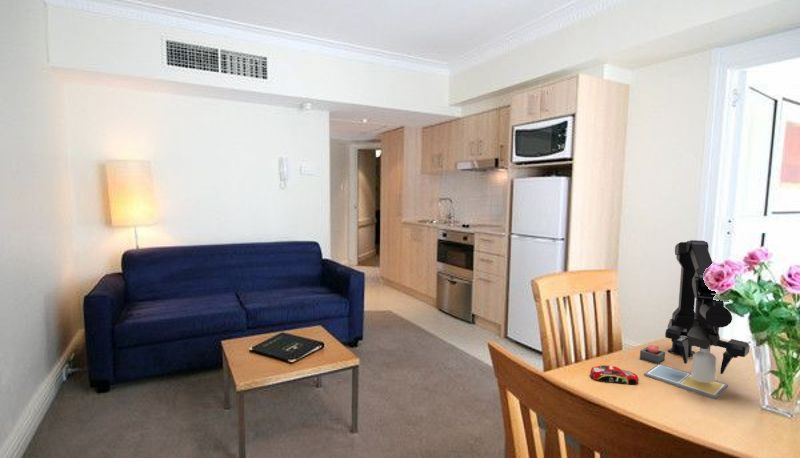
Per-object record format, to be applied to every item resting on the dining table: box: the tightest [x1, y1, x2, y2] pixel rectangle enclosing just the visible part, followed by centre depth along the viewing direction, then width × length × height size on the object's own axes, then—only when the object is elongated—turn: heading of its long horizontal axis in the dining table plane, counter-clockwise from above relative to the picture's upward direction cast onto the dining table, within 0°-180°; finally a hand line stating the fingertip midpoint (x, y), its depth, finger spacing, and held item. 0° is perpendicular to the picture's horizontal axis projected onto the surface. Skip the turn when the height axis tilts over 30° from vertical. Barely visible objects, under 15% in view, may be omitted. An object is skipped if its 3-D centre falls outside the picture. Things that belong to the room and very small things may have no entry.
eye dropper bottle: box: [690, 346, 717, 383], centre depth 115 cm, size 4×6×12 cm
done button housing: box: [639, 346, 666, 365], centre depth 134 cm, size 6×6×3 cm
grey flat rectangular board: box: [643, 363, 729, 400], centre depth 119 cm, size 12×18×1 cm, turn 38°
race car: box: [589, 364, 640, 386], centre depth 120 cm, size 13×5×4 cm, turn 77°
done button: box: [646, 344, 660, 354], centre depth 134 cm, size 3×3×2 cm
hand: (703, 368), depth 116 cm, fingers closed on eye dropper bottle, 8 cm apart
